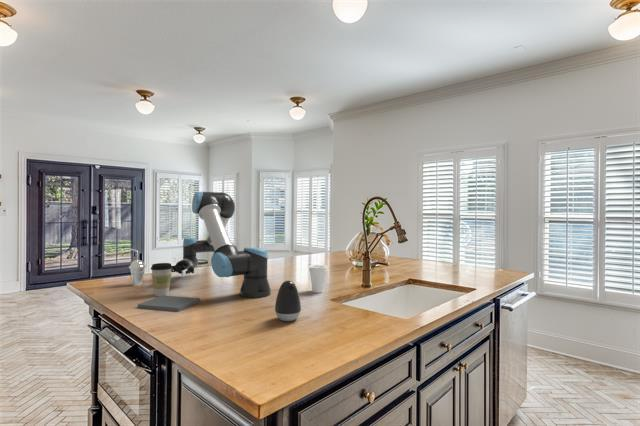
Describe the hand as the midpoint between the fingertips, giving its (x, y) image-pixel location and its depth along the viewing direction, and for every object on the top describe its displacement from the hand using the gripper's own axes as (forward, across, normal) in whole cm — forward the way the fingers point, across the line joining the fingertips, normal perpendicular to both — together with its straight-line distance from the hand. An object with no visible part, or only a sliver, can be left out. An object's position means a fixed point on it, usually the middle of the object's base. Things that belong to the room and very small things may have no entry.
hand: (169, 273), depth 182 cm
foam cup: (+3, -78, -8) cm, 78 cm away
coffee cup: (+10, 0, -9) cm, 13 cm away
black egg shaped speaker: (+48, -64, -8) cm, 81 cm away
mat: (+27, -11, -8) cm, 31 cm away
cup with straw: (-12, +22, -9) cm, 26 cm away
